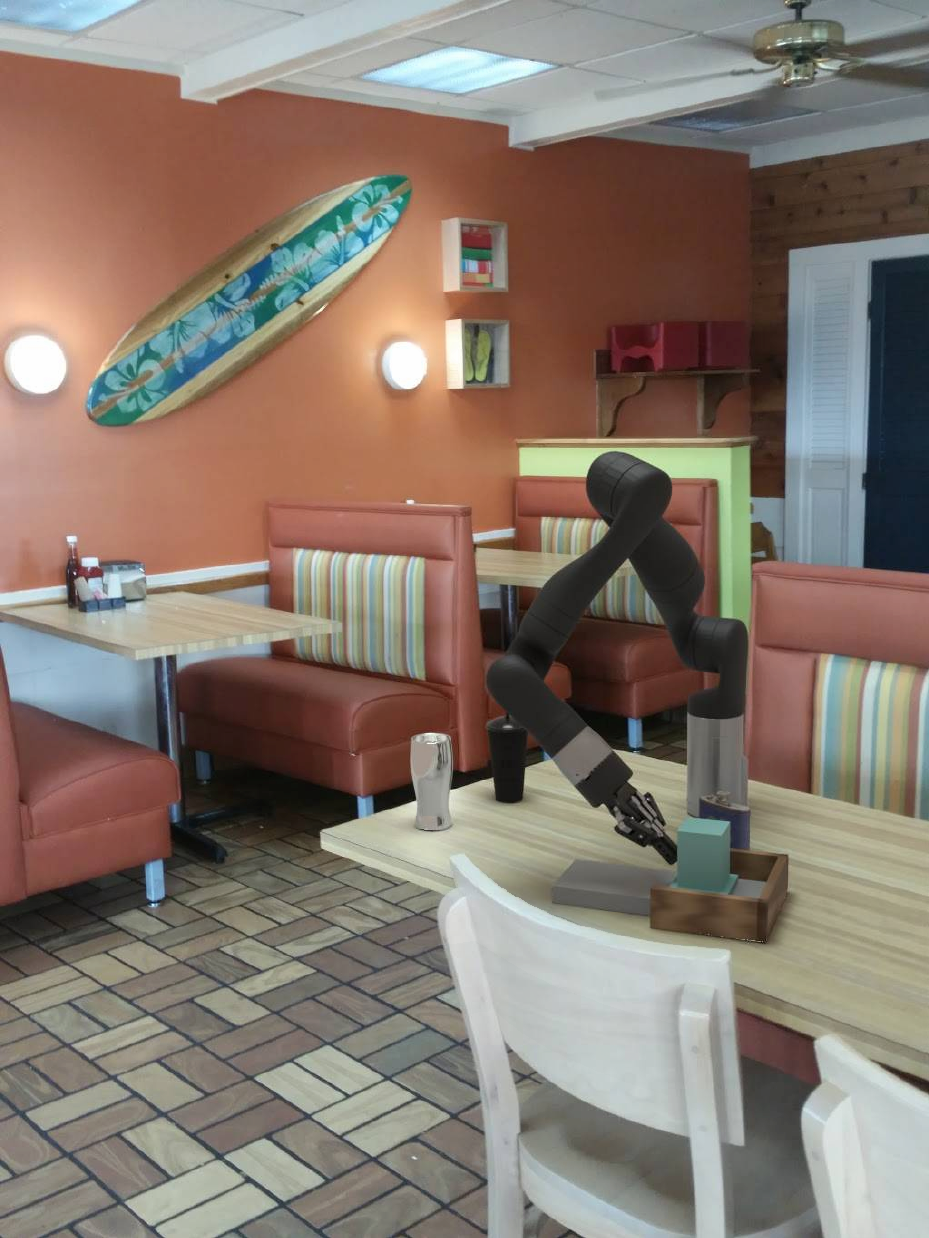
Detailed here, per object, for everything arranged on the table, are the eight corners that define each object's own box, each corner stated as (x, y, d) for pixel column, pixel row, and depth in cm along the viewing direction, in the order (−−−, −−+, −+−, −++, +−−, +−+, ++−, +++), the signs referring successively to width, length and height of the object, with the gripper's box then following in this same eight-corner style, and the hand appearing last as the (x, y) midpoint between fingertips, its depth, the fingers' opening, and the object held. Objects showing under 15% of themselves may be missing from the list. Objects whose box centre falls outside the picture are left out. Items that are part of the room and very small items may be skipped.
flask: (753, 864, 193) (754, 795, 191) (741, 869, 191) (741, 800, 189) (704, 849, 200) (705, 782, 198) (692, 853, 198) (692, 786, 196)
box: (650, 927, 171) (650, 888, 170) (681, 878, 188) (682, 842, 187) (765, 943, 166) (766, 903, 165) (787, 891, 182) (788, 854, 181)
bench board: (552, 902, 180) (552, 885, 180) (576, 874, 190) (575, 858, 190) (753, 929, 170) (753, 912, 169) (767, 899, 180) (767, 882, 179)
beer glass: (449, 833, 210) (447, 744, 207) (408, 831, 211) (405, 742, 209) (458, 819, 216) (456, 732, 214) (418, 817, 218) (415, 731, 215)
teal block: (668, 895, 176) (668, 832, 174) (681, 874, 183) (682, 814, 181) (726, 902, 173) (727, 838, 171) (738, 881, 180) (739, 820, 178)
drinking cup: (485, 793, 230) (482, 684, 226) (527, 791, 231) (526, 682, 227) (489, 806, 223) (487, 694, 219) (533, 804, 223) (531, 692, 220)
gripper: (588, 769, 188) (670, 859, 186) (559, 796, 176) (646, 893, 174) (623, 737, 185) (707, 828, 183) (596, 762, 173) (685, 860, 171)
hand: (677, 859), depth 178 cm, fingers closed
